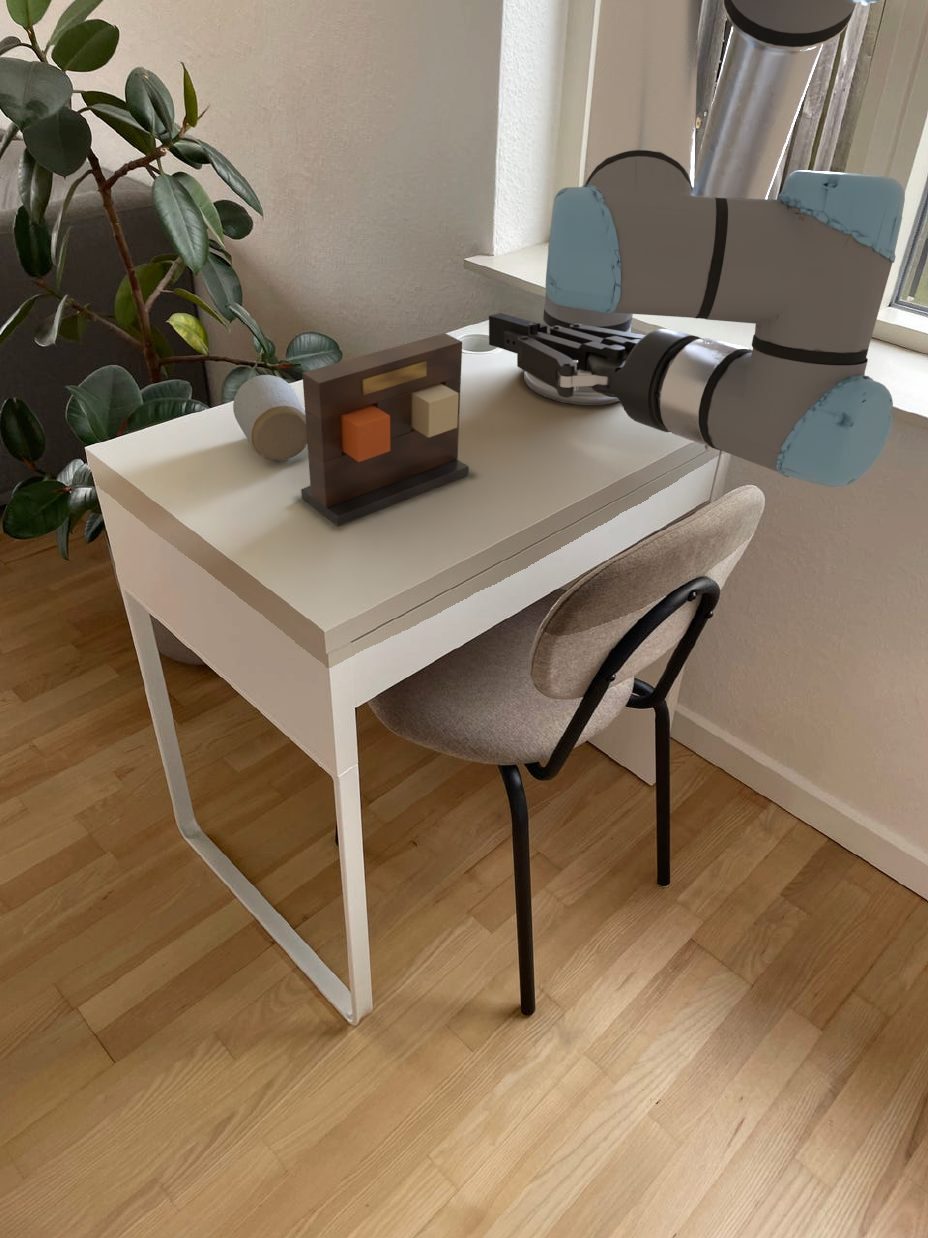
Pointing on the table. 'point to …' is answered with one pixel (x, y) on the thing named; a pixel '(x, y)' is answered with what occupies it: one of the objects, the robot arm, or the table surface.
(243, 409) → the ceramic mug
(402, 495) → the brown wooden upright panel
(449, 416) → the beige key
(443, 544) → the table surface
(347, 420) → the orange key
